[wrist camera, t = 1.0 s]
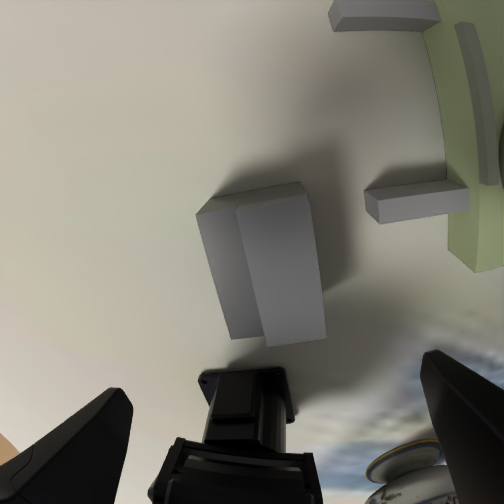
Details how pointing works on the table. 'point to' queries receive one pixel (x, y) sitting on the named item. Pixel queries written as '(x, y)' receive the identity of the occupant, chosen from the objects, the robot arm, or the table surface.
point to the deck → (451, 118)
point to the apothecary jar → (412, 476)
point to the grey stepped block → (265, 264)
